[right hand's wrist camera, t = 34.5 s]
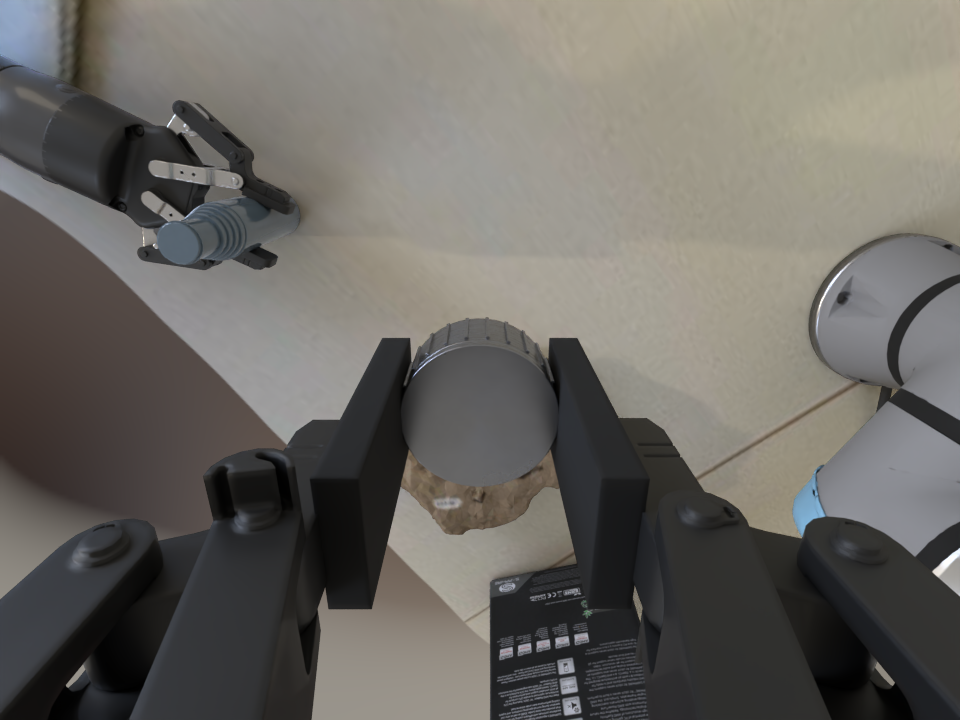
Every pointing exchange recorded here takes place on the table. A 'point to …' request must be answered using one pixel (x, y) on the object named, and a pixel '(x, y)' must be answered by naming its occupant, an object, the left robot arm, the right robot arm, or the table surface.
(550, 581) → the graphics card box
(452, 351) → the cap
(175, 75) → the table surface
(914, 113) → the table surface
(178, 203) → the left robot arm
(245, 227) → the bottle
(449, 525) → the stone
